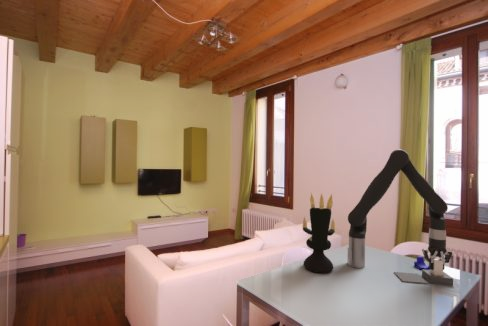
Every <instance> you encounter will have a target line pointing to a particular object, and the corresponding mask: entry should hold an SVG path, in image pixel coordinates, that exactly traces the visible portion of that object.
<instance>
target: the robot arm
mask: <svg viewBox="0 0 488 326" xmlns="http://www.w3.org/2000/svg"><path fill="white" fill-rule="evenodd" d="M400 171H401V172H402V173H403V175H404V176H406V179H408V181H409V182H410V184H411V185H412V187H413V188H414V189H415V191H416V192H417V193H418V195H419V196H420V197H421V198H422V199H424V200H425V203H426V204H427V205H428V215H429V224H428V225H429V228H428V229H429V230H428V247H427V248H425V249H424V248H422V249H421V251H422V254H423V258H424V259H425V260H424V261H427V262H428V266H429V268H430V269H431V270H433V269H434V263H433V262H434V259H435V258H436V259H437V257H438V259H440V260H442V261H443V271H444V270H445V264H449V262H450V260H451V258H452V255H453V252H452V251H450V250H447V249H446V248H447V231H446V230H447V229H446V226H447V223H446V219H445V214H446V213H447V212H448V204H447V202H446V201H445V200H444V199H443V198H442V197H441V196H440V194H438V193H437V192H436V191H435V190H434V188H433V186H431V184H430V183H429V182H428V180H427V179H426V178H425V177H424V176H423V175H422V174H421V173H420V172H419V171H418V170H417V168H416V166H415V165H414V164H413V163H412V161H411V159H410V156H409V153H408V152H407V151H405V150H404V149H395V150H393V151H392V152H391V153H390V155H389V157H388V160H387V161H386V163H385V165H384V167H383V168H382V169H381V171H380V172H379V173H378V174H377V175H375V177H374V178H373V180H371V183H370V184H369V185H368V187H366V190H365V191H364V193H363V195H362V196H361V198H360V199H359V201H358V202H357V204H356V205H355V207H354V208H353V209H352V210H351V211H350V212H349V214H348V215H347V222H348V223H349V225H350V226H349V231H348V247H347V265H348V266H349V267H351V268H352V267H353V268H356V269H363V268H365V267H366V234H367V225H368V224H367V222H368V219H367V216H368V214H369V213H370V211H372V208H374V207H375V206H376V205H377V204H378V203H379V201H381V199H382V198H383V197H384V195H385V194H386V193H387V191H388V190H389V189H390V187H391V185H392V183H393V181H394V180H395V178H396V177H397V175H398V173H400Z"/></svg>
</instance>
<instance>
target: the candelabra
mask: <svg viewBox="0 0 488 326" xmlns="http://www.w3.org/2000/svg"><path fill="white" fill-rule="evenodd" d="M309 198H310V199H309V200H310V207H311V208H309V219H310V228H311V229H310V228H308V224H307V223H308V222H307V220H306V217H305V216H303V221H302V230H303V232H304V233H306V234H307V235H310V237H309V238H308V239H307V240H306V242H305V245H306V246H307V247H308V248H309V249H311V250H313V251H312V253H311V254H310V255H308V256H307V257H306V258H305V259H304V261H303V264H302V265H303V267H304V268H305V269H306V270H308V271H310V272H313V273H318V274H319V273H320V274H326V273H330V272H332V271H333V270H334V264H333V262H332V261H331V259H330V258H329V257H327V256H326V255H325V252H324V251H327V250H330V249H331V247H332V242H331V241H330V240H329V238H328V237H330V236H332V235H334V234H335V232H336V230H335V229H336V224H335V220H334V219H331V218H332V207H333V193H331V194H330V196H329V198H328V200H327V202H326V208H325V203H324V202H325V200H324V197H323V193H321V194H320V198H319V202H318V203H319V207H315V199H314V196H313V193H312V192H310V197H309Z"/></svg>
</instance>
